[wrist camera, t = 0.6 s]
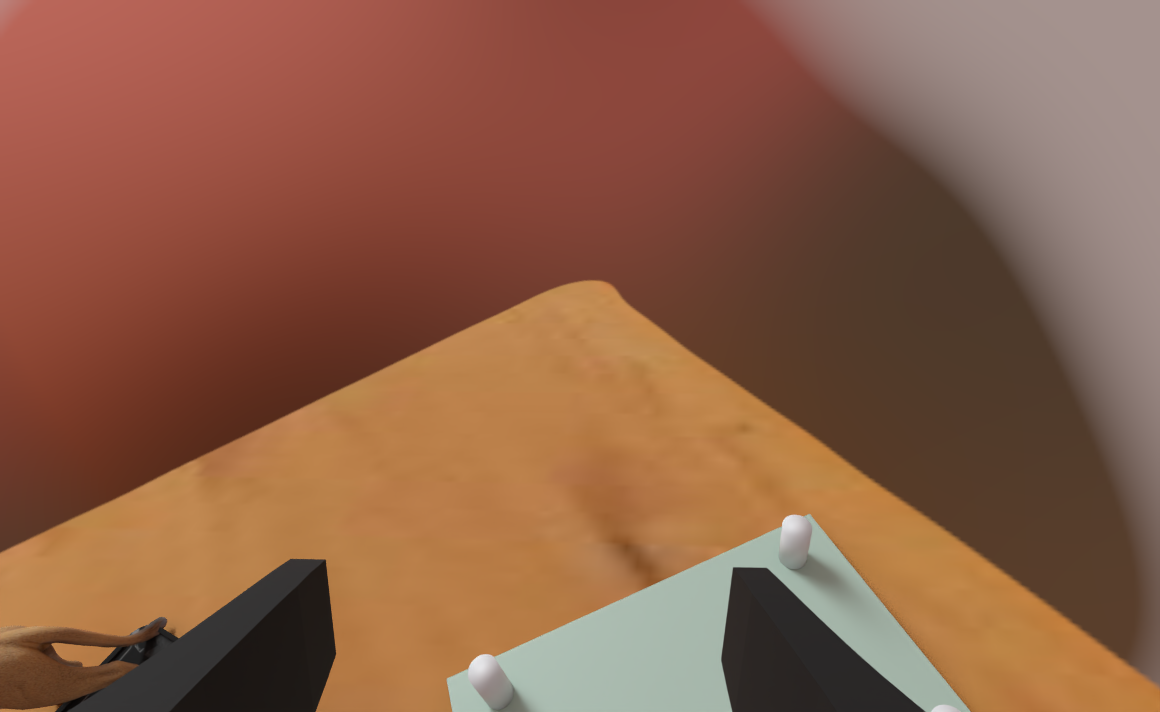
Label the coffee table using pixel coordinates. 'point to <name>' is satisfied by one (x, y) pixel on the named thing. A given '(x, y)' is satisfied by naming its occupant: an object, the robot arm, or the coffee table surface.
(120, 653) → the phone
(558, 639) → the pin tray
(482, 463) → the coffee table surface
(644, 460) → the coffee table surface
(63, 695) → the lion figurine
